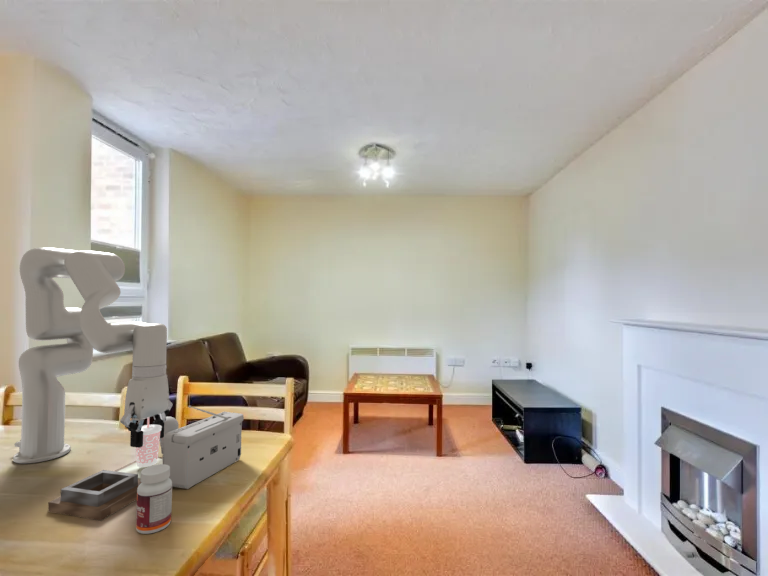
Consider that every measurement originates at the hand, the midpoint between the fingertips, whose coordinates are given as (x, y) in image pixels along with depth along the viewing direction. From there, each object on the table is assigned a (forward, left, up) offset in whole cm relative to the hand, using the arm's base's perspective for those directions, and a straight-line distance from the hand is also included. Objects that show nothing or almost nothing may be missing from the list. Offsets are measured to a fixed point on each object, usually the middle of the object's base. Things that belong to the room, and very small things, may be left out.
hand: (147, 441), depth 102 cm
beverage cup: (0, 0, -6) cm, 6 cm away
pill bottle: (+19, -18, -9) cm, 28 cm away
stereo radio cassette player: (+13, +6, -9) cm, 17 cm away
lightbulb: (-6, +13, -9) cm, 17 cm away
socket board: (0, -6, -9) cm, 11 cm away
